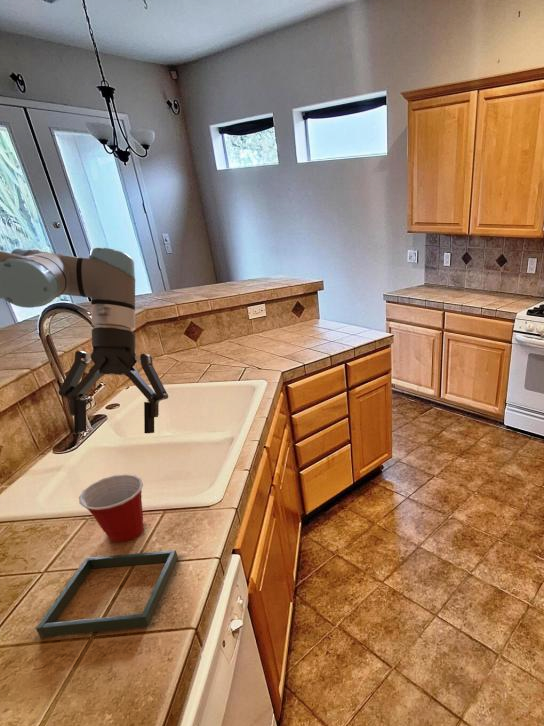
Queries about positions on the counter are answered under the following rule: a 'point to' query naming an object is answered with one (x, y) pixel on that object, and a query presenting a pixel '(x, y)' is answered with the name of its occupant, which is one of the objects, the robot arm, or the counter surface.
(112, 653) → the counter surface
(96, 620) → the grey square frame
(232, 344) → the counter surface
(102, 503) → the plastic cup
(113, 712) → the counter surface
